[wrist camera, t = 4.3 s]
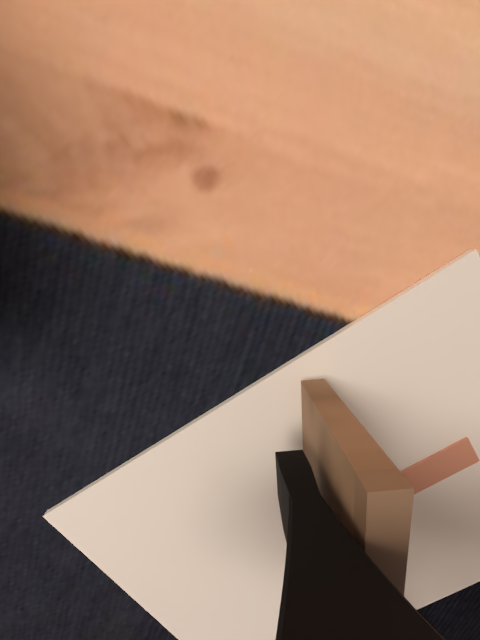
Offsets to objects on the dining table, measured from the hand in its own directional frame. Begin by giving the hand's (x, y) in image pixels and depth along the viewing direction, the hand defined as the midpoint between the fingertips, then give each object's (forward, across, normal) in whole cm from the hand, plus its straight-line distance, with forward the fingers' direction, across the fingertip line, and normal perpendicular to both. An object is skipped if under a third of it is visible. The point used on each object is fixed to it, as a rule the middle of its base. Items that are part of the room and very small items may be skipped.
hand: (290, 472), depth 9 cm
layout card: (+3, -2, +6) cm, 7 cm away
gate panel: (+2, -1, +1) cm, 3 cm away
